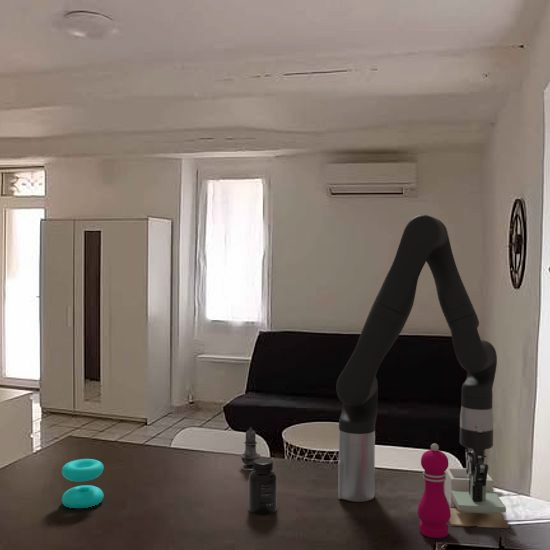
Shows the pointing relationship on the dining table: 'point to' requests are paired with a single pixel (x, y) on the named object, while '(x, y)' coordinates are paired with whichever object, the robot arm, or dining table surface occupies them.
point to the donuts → (85, 493)
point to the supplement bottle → (262, 488)
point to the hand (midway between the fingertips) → (475, 498)
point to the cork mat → (477, 519)
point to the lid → (487, 506)
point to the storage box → (460, 483)
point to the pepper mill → (434, 495)
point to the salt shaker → (250, 450)
